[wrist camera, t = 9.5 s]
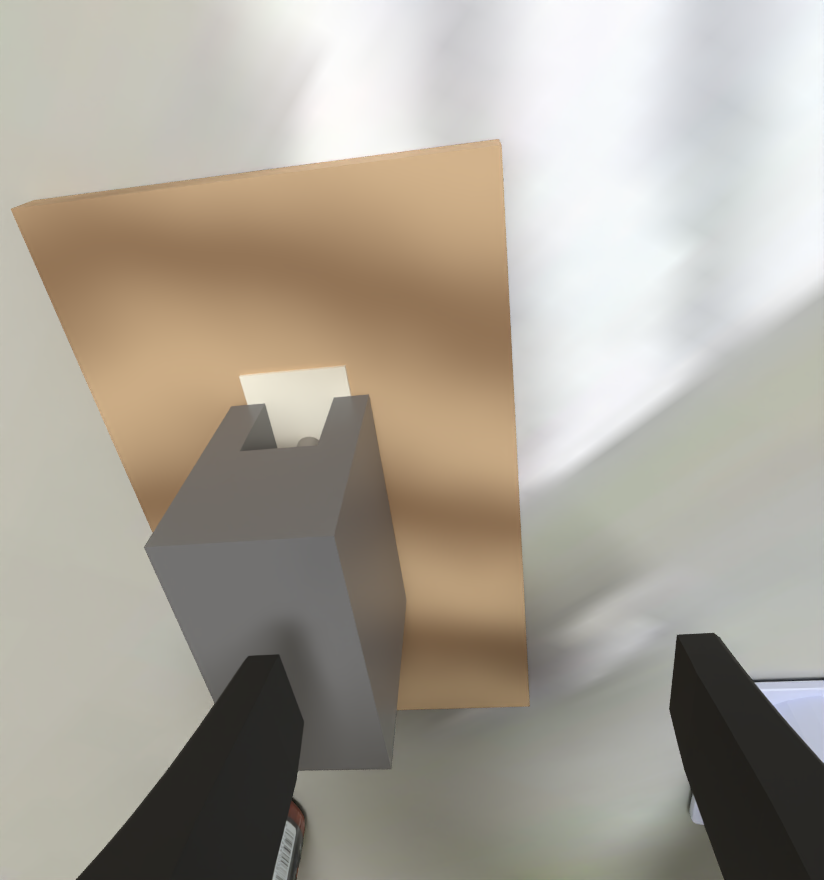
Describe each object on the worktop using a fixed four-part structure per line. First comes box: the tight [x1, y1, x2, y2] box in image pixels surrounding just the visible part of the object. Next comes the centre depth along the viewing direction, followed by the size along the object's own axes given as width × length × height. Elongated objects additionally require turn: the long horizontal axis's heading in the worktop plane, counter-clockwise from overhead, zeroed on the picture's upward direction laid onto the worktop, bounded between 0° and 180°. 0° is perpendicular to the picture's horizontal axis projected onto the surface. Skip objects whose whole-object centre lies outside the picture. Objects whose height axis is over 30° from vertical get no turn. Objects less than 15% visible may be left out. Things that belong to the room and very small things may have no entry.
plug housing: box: [144, 394, 406, 771], centre depth 18 cm, size 8×4×6 cm, turn 7°
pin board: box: [11, 139, 530, 710], centre depth 20 cm, size 20×12×3 cm, turn 7°
